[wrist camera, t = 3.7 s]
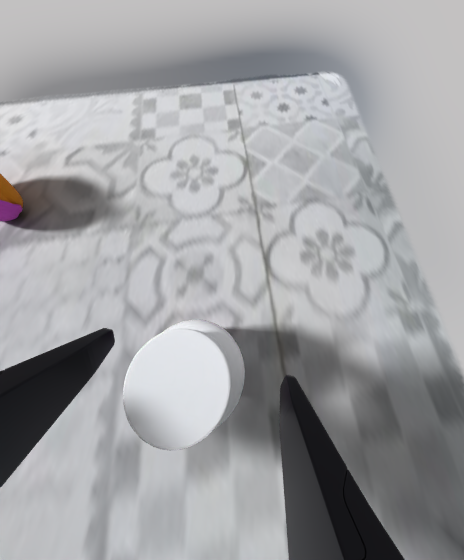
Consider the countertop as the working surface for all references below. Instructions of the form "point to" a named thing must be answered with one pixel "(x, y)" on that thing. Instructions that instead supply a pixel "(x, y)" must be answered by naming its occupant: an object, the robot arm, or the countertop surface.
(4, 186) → the donut
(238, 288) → the countertop surface
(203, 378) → the pill bottle
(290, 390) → the robot arm
